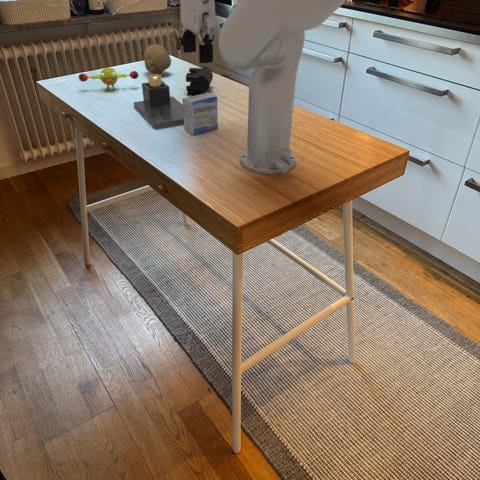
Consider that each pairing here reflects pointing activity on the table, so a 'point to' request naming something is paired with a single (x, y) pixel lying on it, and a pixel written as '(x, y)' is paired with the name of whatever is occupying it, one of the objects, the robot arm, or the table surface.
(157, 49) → the natural sponge
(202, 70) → the end cap
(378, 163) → the table surface
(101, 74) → the toy figure
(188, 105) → the medicine box
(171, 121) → the grey stand
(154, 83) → the pin
